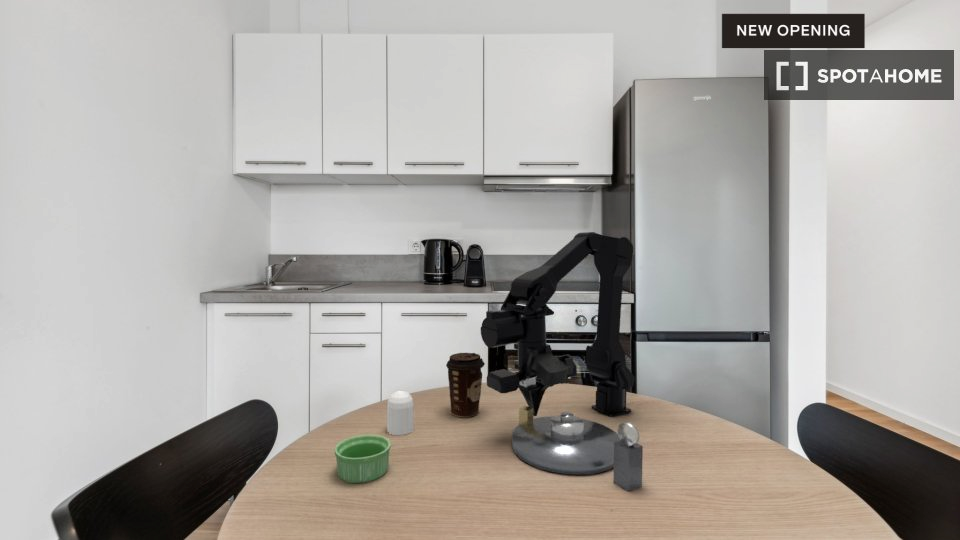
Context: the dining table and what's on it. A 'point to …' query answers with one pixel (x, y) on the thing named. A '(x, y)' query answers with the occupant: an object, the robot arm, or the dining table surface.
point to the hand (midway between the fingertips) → (534, 415)
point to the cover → (567, 428)
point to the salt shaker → (400, 413)
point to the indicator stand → (628, 458)
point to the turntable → (563, 446)
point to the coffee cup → (465, 383)
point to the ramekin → (362, 458)
